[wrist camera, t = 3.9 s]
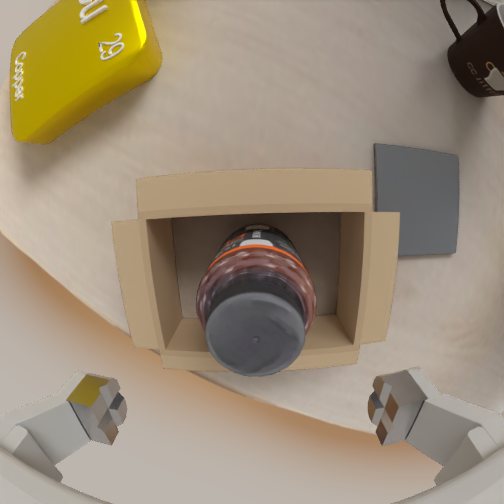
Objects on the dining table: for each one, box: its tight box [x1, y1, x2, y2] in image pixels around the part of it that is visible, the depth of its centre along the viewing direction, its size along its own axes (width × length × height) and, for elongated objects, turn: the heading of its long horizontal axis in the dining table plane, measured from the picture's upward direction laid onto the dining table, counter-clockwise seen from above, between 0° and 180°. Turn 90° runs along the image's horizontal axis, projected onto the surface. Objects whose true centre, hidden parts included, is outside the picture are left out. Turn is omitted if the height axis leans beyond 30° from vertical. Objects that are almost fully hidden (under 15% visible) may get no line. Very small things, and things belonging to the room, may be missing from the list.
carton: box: [112, 168, 400, 372], centre depth 19 cm, size 18×13×5 cm
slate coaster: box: [374, 143, 459, 256], centre depth 20 cm, size 9×9×1 cm
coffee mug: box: [440, 0, 504, 97], centre depth 11 cm, size 12×9×10 cm
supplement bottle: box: [196, 224, 316, 376], centre depth 16 cm, size 6×6×11 cm
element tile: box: [10, 0, 162, 145], centre depth 15 cm, size 15×15×5 cm
